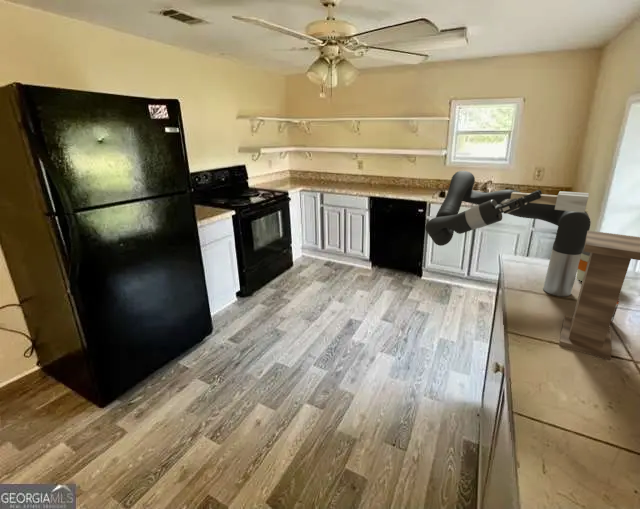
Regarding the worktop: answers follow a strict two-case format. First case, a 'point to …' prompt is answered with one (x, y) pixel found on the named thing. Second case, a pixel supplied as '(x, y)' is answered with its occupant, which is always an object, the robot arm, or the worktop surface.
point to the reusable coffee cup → (582, 265)
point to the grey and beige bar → (561, 200)
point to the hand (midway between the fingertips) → (540, 193)
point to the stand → (599, 292)
